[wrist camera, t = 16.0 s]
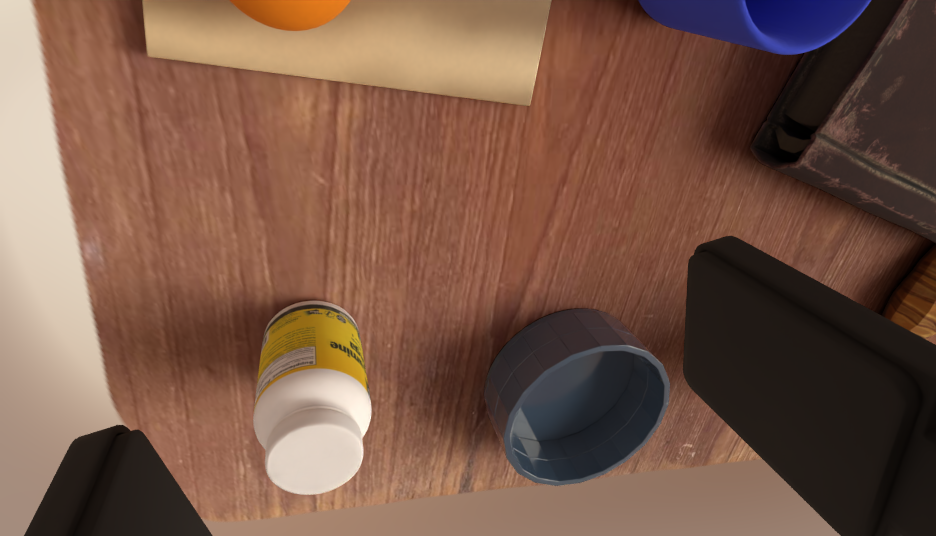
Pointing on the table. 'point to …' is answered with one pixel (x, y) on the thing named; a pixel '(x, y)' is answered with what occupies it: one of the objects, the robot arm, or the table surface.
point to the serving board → (369, 44)
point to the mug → (760, 21)
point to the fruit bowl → (574, 396)
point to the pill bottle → (312, 398)
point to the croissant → (916, 298)
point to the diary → (865, 116)
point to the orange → (292, 12)
